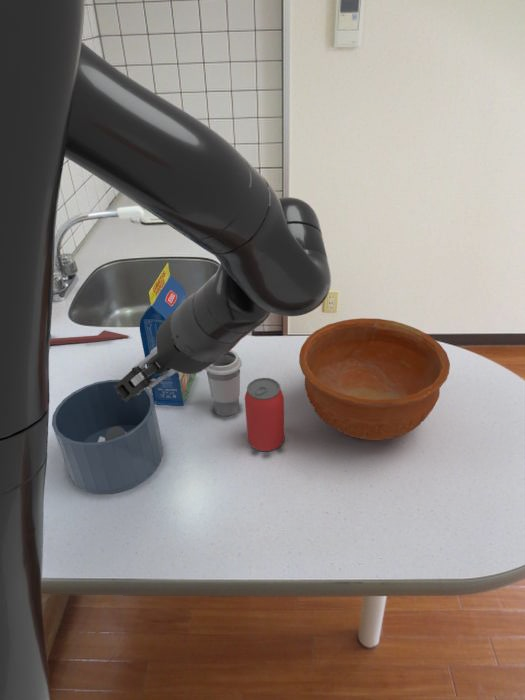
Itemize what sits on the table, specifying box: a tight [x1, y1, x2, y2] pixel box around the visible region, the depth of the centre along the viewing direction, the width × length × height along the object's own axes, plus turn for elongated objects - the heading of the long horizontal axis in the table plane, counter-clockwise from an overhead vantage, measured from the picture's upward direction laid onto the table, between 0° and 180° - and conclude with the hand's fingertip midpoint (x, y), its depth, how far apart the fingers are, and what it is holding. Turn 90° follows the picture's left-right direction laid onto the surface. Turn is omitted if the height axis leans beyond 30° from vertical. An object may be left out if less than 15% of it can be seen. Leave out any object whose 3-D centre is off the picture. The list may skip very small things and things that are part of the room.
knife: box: [50, 329, 130, 346], centre depth 124 cm, size 29×2×5 cm
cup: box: [204, 349, 243, 417], centre depth 98 cm, size 7×7×12 cm
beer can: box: [244, 377, 285, 452], centre depth 91 cm, size 7×7×12 cm
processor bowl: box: [51, 379, 164, 495], centre depth 89 cm, size 16×16×11 cm
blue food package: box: [139, 262, 197, 406], centre depth 101 cm, size 6×12×25 cm, turn 173°
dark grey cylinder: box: [98, 426, 127, 442], centre depth 86 cm, size 6×6×10 cm
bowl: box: [298, 317, 451, 441], centre depth 93 cm, size 25×25×15 cm
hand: (146, 378), depth 72 cm, fingers open, 8 cm apart
